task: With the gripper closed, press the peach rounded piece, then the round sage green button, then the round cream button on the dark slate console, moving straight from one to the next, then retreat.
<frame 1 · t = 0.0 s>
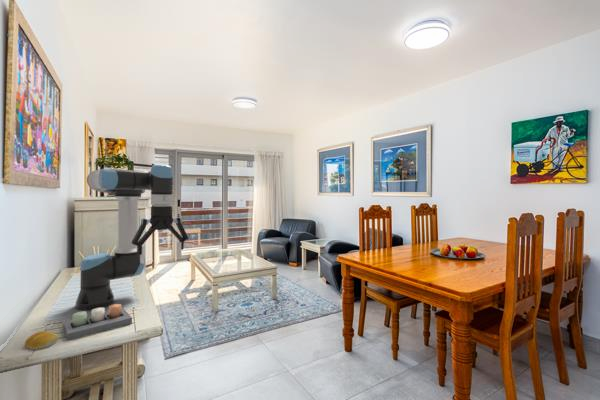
hand: (161, 260, 116), 28 cm above the table, fingers open, 13 cm apart
sage button: (79, 318, 117), point 4 cm above the table, slide at 0.0 cm
cream button: (98, 314, 121), point 4 cm above the table, slide at 0.0 cm
console: (98, 325, 121), on the table
bread roll: (41, 344, 106), on the table
peach rounded piece: (115, 310, 125), point 4 cm above the table, slide at 0.0 cm
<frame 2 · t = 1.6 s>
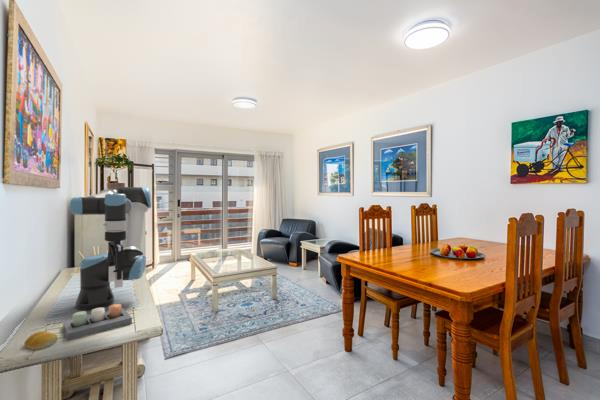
hand: (115, 284, 125), 16 cm above the table, fingers open, 10 cm apart
nothing on the table moved.
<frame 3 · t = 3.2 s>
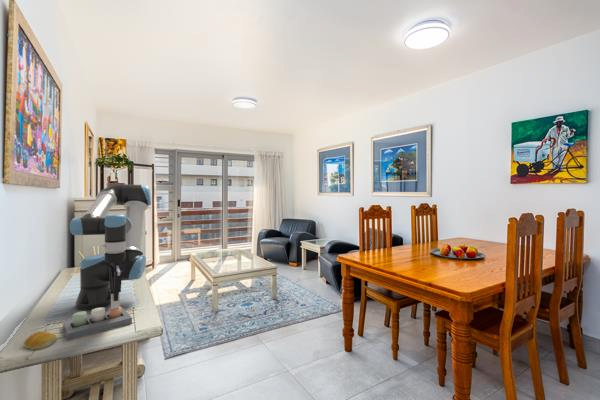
hand: (115, 307, 125), 6 cm above the table, fingers closed
peach rounded piece: (115, 313, 125), point 3 cm above the table, slide at 1.0 cm, touching gripper
everything else where it was.
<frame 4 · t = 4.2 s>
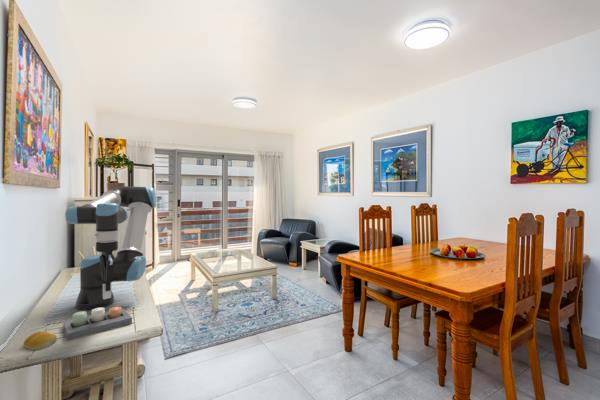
hand: (107, 298, 123), 10 cm above the table, fingers closed
peach rounded piece: (115, 313, 125), point 3 cm above the table, slide at 1.2 cm
everything else where it was.
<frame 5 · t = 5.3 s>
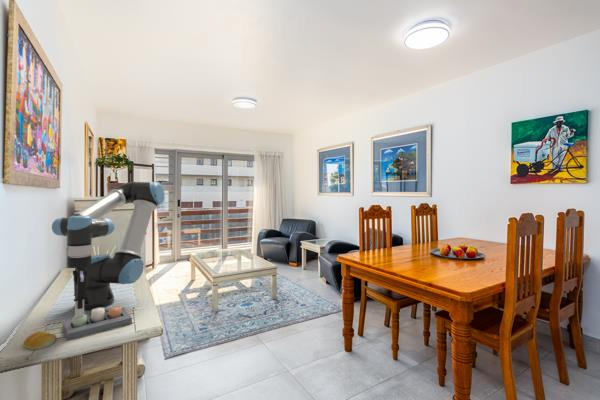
hand: (79, 315, 116), 6 cm above the table, fingers closed
sage button: (79, 321, 117), point 3 cm above the table, slide at 1.1 cm, touching gripper
everything else where it was.
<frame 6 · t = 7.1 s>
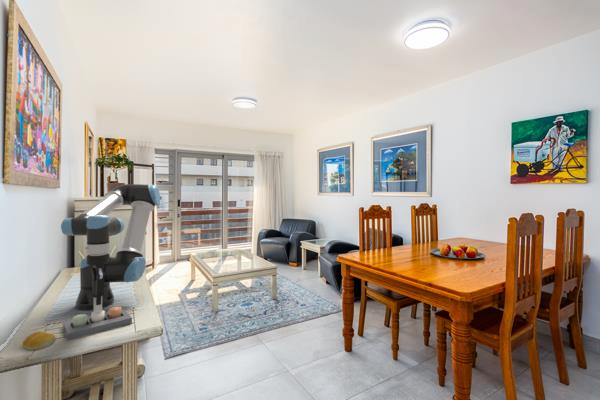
hand: (97, 311, 121), 5 cm above the table, fingers closed
sage button: (79, 321, 117), point 3 cm above the table, slide at 1.2 cm
cream button: (98, 317, 121), point 3 cm above the table, slide at 1.1 cm, touching gripper
everything else where it was.
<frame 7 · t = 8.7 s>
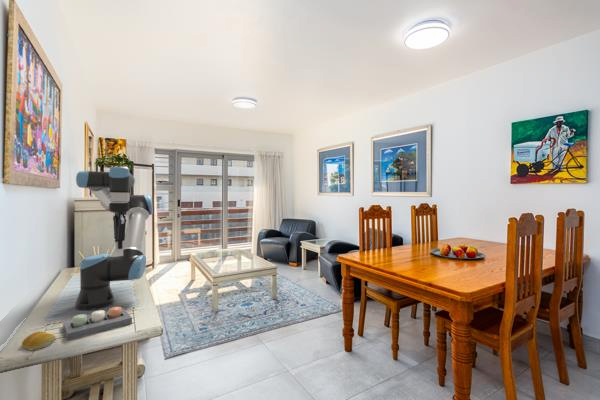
hand: (119, 255, 131), 26 cm above the table, fingers closed
cream button: (98, 317, 121), point 3 cm above the table, slide at 1.2 cm
everything else where it was.
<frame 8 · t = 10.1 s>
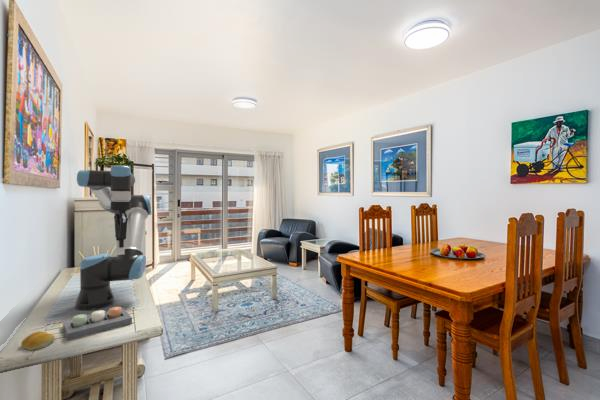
hand: (120, 254, 132), 26 cm above the table, fingers closed
nothing on the table moved.
at the end: peach rounded piece slide at 1.2 cm; sage button slide at 1.2 cm; cream button slide at 1.2 cm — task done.
